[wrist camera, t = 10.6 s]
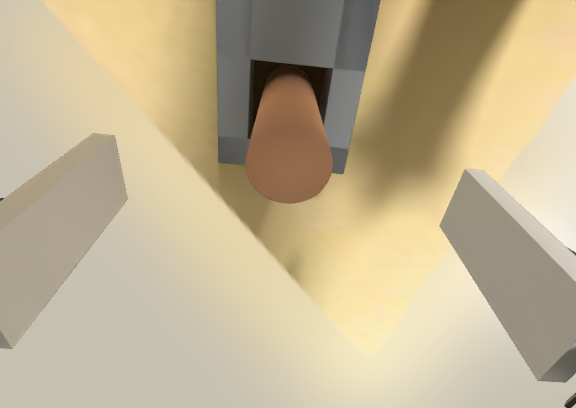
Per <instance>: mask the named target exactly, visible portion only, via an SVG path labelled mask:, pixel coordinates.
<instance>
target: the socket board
mask: <svg viewBox="0 0 576 408" xmlns="http://www.w3.org/2000/svg"><path fill="white" fill-rule="evenodd" d="M216 4H217V80H218V156H219V163H228V164H239V165H245V160H246V155H247V151H248V147H249V143H250V139H251V135H252V132H253V128H254V124H255V122H252V117H253V94H254V71H255V60H261V61H270V62H279V63H288V64H297V65H306V66H316V67H325V68H326V70H325V76H324V83H323V90H322V96H321V103H320V109H319V112H320V115H321V119H322V122H323V126H324V129H325V133H326V136H327V140H328V143H329V147H330V151H331V154H332V159H333V167H332V173H338V174H343V173H344V168H345V164H346V159H347V154H348V150H349V145H350V140H351V136H352V131H353V126H354V122H355V117H356V112H357V108H358V103H359V98H360V94H361V89H362V84H363V80H364V75H365V70H366V66H367V61H368V56H369V52H370V47H371V42H372V38H373V33H374V28H375V24H376V19H377V14H378V10H379V5H380V0H216Z"/></svg>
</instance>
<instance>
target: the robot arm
mask: <svg viewBox="0 0 576 408" xmlns="http://www.w3.org/2000/svg"><path fill="white" fill-rule="evenodd" d="M126 201H127V193H126V188H125V183H124V179H123V174H122V169H121V164H120V159H119V154H118V149H117V144H116V139H115V135H106V134H95V133H93V134H92V135H90V136H89V137H88V138H86V139H85V140H83V141H82V142H81V143H79V144H78V145H77V146H75V147H74V148H72V149H71V150H70V151H68V152H67V153H66V154H64V155H63V156H62V157H60V158H59V159H57V160H56V161H55V162H53V163H52V164H51V165H49V166H48V167H46V168H45V169H44V170H42V171H41V172H40V173H38V174H37V175H36V176H34V177H33V178H32V179H30V180H29V181H28V182H26V183H25V184H23V185H22V186H21V187H19V188H18V189H17V190H15V191H14V192H12V193H11V194H10V195H8V196H7V197H6V198H0V348H6V349H13V347H14V346H15V345H16V343H17V342H18V341H19V340H20V338H21V337H22V336H23V334H24V333H25V332H26V330H27V329H28V328H29V327H30V325H31V324H32V323H33V321H34V320H35V319H36V317H37V316H38V315H39V313H40V312H41V311H42V310H43V308H44V307H45V306H46V304H47V303H48V302H49V301H50V299H51V298H52V297H53V295H54V294H55V293H56V292H57V290H58V289H59V288H60V286H61V285H62V284H63V282H64V281H65V280H66V279H67V277H68V276H69V275H70V273H71V272H72V271H73V269H74V268H75V267H76V266H77V264H78V263H79V262H80V260H81V259H82V258H83V256H84V255H85V254H86V253H87V251H88V250H89V249H90V247H91V246H92V245H93V244H94V242H95V241H96V239H97V238H98V237H99V236H100V234H101V233H102V232H103V230H104V229H105V228H106V227H107V225H108V224H109V223H110V221H111V220H112V219H113V218H114V216H115V215H116V213H117V212H118V211H119V210H120V208H121V207H122V206H123V204H124V203H125V202H126ZM440 227H441V229H442V231H443V232H444V234H445V235H446V237H447V239H448V240H449V242H450V243H451V245H452V246H453V248H454V250H455V251H456V253H457V254H458V256H459V257H460V259H461V260H462V262H463V264H464V265H465V267H466V268H467V270H468V272H469V273H470V275H471V276H472V278H473V280H474V281H475V283H476V284H477V286H478V287H479V289H480V291H481V292H482V294H483V295H484V297H485V298H486V300H487V302H488V303H489V305H490V306H491V308H492V309H493V311H494V313H495V314H496V316H497V317H498V319H499V321H500V322H501V324H502V325H503V327H504V328H505V330H506V332H507V333H508V335H509V336H510V338H511V339H512V341H513V342H514V344H515V346H516V347H517V349H518V351H519V352H520V354H521V355H522V357H523V358H524V360H525V362H526V363H527V365H528V366H529V368H530V369H531V371H532V372H533V374H534V376H535V377H536V379H537V381H550V382H567V381H568V380H569V379H570V378H571V377H572V376H573V375H574V374H575V373H576V253H575V252H574V251H572V250H570V249H569V248H567V247H566V246H565V245H564V244H563V243H562V242H560V241H559V240H558V239H557V238H556V237H555V236H554V235H553V234H552V233H551V232H550V231H549V230H547V229H546V228H545V227H544V226H543V225H542V224H541V223H540V222H539V221H538V220H537V219H536V218H535V217H534V216H533V215H531V214H530V213H529V212H528V211H527V210H526V209H525V208H524V207H523V206H522V205H521V204H520V203H519V202H518V201H516V200H515V199H514V198H513V197H512V196H511V195H510V194H509V193H508V192H507V191H506V190H505V189H504V188H502V187H501V186H500V185H499V184H498V183H497V182H496V181H495V180H494V179H493V178H492V177H491V176H490V175H489V174H487V173H486V172H485V171H484V170H473V169H465V170H464V172H463V174H462V177H461V179H460V181H459V183H458V185H457V188H456V190H455V192H454V194H453V197H452V199H451V201H450V203H449V206H448V208H447V210H446V212H445V215H444V217H443V219H442V221H441V223H440ZM575 404H576V393H575V394H574V395H573V396H571V397H570V398H569V399H568V400H567V401H566V403H565V407H566V408H571V407H572V406H574V405H575Z"/></svg>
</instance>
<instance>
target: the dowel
mask: <svg viewBox="0 0 576 408" xmlns="http://www.w3.org/2000/svg"><path fill="white" fill-rule="evenodd" d="M332 167H333V159H332V154H331V151H330V147H329V143H328V140H327V136H326V133H325V129H324V126H323V122H322V119H321V115H320V112H319V108H318V105H317V101H316V98H315V94H314V91H313V87H312V84H311V81H310V79H309V77H308V76H307V75H306V73H305V72H303V71H302V70H301V69H299V68H297V67H293V66H283V67H280V68H278V69H276V70H274V71H273V72H272V73H271V74H270V75H269V76H268V78H267V80H266V82H265V86H264V89H263V93H262V97H261V101H260V105H259V109H258V112H257V116H256V120H255V124H254V128H253V132H252V135H251V139H250V143H249V147H248V151H247V155H246V160H245V168H246V173H247V176H248V179H249V181H250V182H251V184H252V185H253V187H254V188H255V189H256V190H257V191H258V192H259V193H260V194H262V195H263V196H264V197H266V198H268V199H270V200H273V201H276V202H280V203H297V202H302V201H305V200H307V199H310V198H312V197H313V196H315V195H316V194H318V193H319V192H320V191H321V190H322V189H323V188H324V187H325V185H326V184H327V182H328V181H329V178H330V176H331V173H332Z"/></svg>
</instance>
